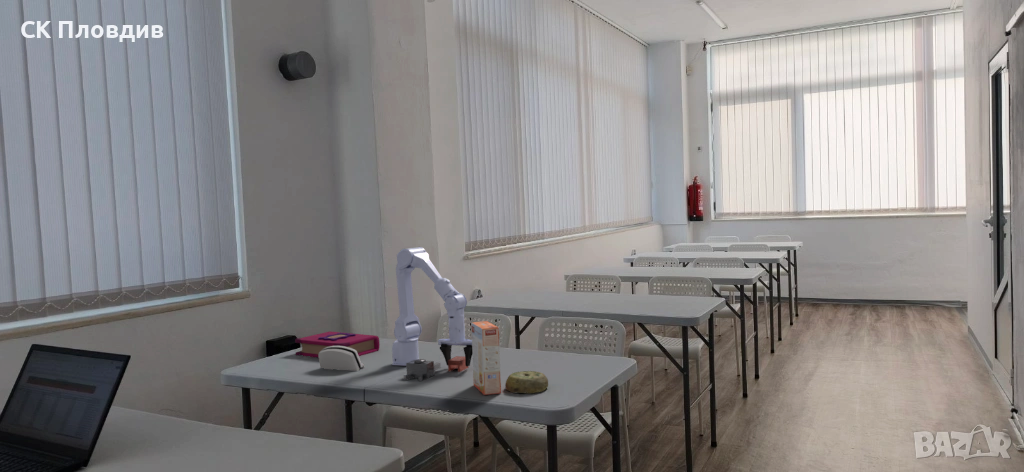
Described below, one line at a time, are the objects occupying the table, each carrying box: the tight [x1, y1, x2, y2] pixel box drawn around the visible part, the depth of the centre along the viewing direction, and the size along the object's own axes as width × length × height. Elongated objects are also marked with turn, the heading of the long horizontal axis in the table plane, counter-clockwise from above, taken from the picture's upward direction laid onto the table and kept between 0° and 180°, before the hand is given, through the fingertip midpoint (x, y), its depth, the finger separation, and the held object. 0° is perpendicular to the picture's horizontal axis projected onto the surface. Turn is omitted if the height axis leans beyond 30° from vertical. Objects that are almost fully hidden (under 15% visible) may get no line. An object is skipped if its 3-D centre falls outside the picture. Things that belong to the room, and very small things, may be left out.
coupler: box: [403, 358, 442, 382], centre depth 246 cm, size 19×8×6 cm, turn 158°
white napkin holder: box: [318, 346, 366, 372], centre depth 259 cm, size 17×5×10 cm, turn 69°
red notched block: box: [447, 355, 469, 373], centre depth 251 cm, size 5×7×4 cm, turn 158°
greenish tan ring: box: [505, 370, 549, 395], centre depth 221 cm, size 14×13×5 cm
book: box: [294, 330, 381, 359], centre depth 290 cm, size 21×28×8 cm
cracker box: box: [471, 320, 502, 396], centre depth 222 cm, size 14×6×21 cm, turn 17°
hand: (458, 365), depth 251 cm, fingers open, 7 cm apart
